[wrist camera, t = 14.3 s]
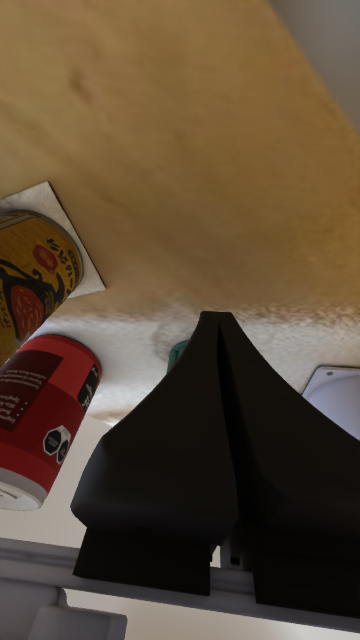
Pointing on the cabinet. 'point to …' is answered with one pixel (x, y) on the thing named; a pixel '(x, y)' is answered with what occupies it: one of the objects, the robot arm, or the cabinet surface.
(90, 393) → the canned food
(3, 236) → the condiment
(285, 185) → the cabinet surface
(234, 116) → the cabinet surface
